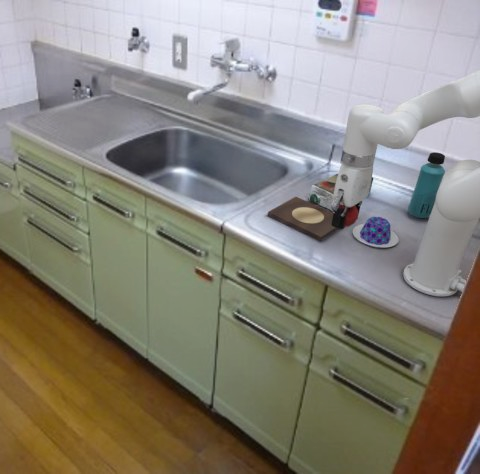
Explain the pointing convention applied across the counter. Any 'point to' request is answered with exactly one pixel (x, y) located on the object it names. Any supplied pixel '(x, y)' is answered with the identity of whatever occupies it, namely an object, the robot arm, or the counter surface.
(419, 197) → the beverage bottle
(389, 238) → the pudding
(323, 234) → the cutting board
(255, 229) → the counter surface
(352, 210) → the red round fruit
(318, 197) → the juice carton
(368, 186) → the robot arm
